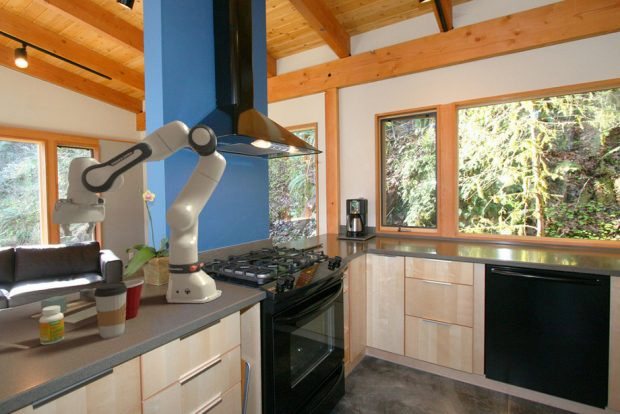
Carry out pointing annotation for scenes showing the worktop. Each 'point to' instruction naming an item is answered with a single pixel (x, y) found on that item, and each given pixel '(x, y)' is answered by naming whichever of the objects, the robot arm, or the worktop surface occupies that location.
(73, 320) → the grey block
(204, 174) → the robot arm
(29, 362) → the worktop surface
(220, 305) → the worktop surface
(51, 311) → the supplement bottle
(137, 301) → the plastic cup
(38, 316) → the oak strip
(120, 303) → the coffee cup
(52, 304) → the teal block
